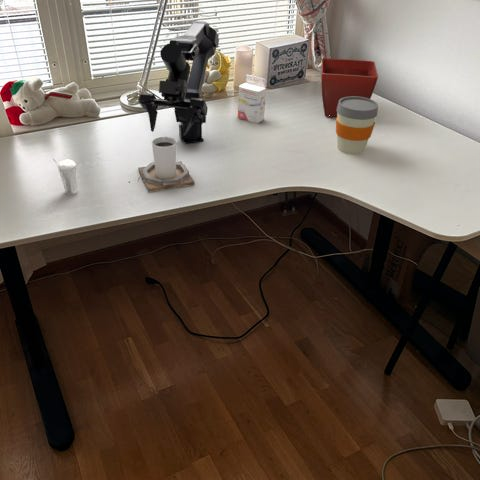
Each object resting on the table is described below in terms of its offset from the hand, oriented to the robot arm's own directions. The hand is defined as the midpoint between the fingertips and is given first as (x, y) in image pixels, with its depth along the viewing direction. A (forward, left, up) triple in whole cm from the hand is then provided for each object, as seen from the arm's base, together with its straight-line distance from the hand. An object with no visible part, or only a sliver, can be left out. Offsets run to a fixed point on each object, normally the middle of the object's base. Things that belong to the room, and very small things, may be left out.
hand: (167, 133), depth 145 cm
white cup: (+2, +3, -11) cm, 12 cm away
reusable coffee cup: (-59, +2, -12) cm, 61 cm away
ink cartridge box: (-37, -30, -12) cm, 49 cm away
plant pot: (-72, -26, -12) cm, 78 cm away
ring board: (+2, +3, -12) cm, 13 cm away
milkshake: (+29, +3, -12) cm, 31 cm away
